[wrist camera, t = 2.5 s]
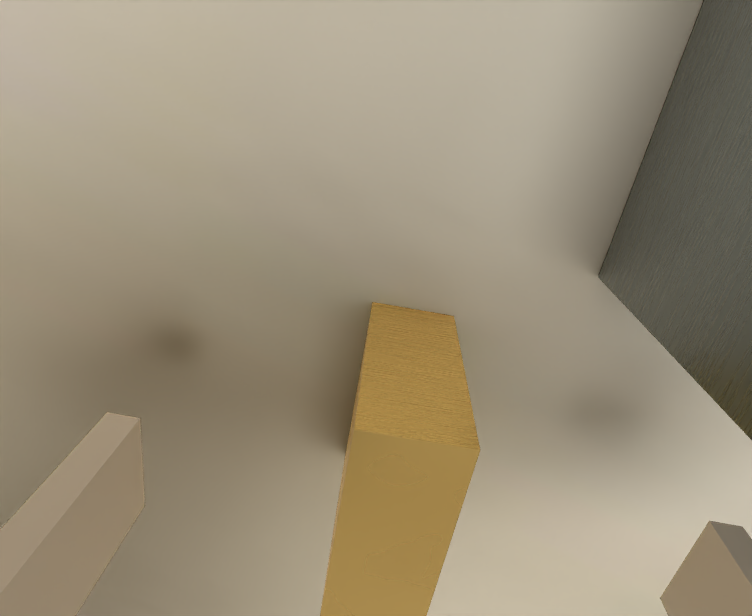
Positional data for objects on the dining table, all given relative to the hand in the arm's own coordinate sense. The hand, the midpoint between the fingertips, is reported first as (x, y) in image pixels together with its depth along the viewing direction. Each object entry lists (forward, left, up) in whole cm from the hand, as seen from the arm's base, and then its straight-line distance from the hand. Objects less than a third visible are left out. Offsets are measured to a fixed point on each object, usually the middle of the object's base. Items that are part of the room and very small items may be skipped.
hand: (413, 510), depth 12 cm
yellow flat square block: (0, 0, -5) cm, 5 cm away
